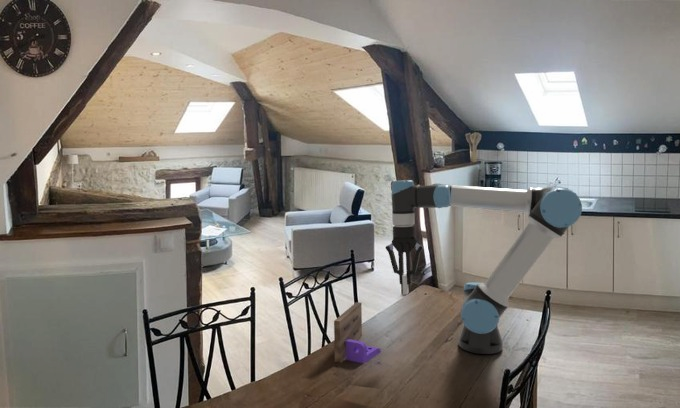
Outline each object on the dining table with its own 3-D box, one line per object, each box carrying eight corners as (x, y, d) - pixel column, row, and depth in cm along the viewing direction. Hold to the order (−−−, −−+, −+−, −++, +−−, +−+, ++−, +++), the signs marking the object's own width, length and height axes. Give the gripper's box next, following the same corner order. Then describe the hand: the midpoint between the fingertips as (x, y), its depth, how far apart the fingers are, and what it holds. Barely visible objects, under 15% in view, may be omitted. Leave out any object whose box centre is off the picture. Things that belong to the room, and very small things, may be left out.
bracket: (363, 364, 165) (363, 344, 164) (346, 360, 168) (345, 340, 168) (380, 353, 175) (380, 333, 174) (363, 349, 178) (363, 330, 178)
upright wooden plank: (362, 339, 188) (361, 302, 187) (340, 362, 166) (340, 321, 165) (356, 338, 189) (356, 302, 188) (334, 361, 166) (334, 320, 165)
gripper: (424, 224, 171) (426, 291, 173) (387, 224, 175) (389, 290, 177) (421, 226, 164) (423, 297, 166) (382, 226, 168) (384, 295, 170)
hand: (405, 293), depth 171 cm, fingers closed
